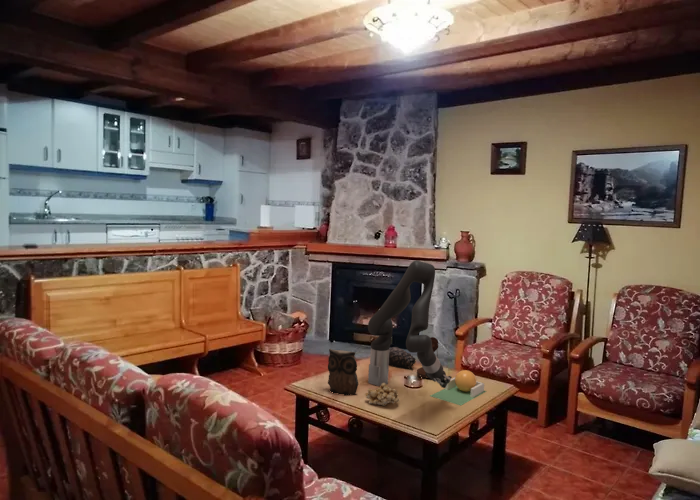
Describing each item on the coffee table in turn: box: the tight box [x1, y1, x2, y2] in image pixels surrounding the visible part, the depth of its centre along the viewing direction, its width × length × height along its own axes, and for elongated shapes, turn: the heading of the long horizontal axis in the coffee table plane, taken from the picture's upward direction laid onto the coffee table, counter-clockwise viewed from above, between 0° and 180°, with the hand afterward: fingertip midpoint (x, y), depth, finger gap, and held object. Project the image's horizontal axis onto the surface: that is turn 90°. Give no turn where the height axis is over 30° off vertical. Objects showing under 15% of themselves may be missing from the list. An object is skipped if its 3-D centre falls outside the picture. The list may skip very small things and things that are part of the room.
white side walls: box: [444, 376, 485, 398], centre depth 248 cm, size 12×14×4 cm
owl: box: [327, 348, 359, 396], centre depth 239 cm, size 13×13×20 cm
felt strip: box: [429, 386, 487, 407], centre depth 243 cm, size 26×16×1 cm, turn 140°
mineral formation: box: [364, 383, 400, 407], centre depth 227 cm, size 8×13×15 cm
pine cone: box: [389, 346, 417, 371], centre depth 283 cm, size 10×18×10 cm, turn 61°
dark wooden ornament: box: [416, 336, 447, 379], centre depth 267 cm, size 15×15×20 cm
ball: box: [454, 369, 477, 392], centre depth 247 cm, size 10×10×10 cm
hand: (444, 386), depth 232 cm, fingers closed
